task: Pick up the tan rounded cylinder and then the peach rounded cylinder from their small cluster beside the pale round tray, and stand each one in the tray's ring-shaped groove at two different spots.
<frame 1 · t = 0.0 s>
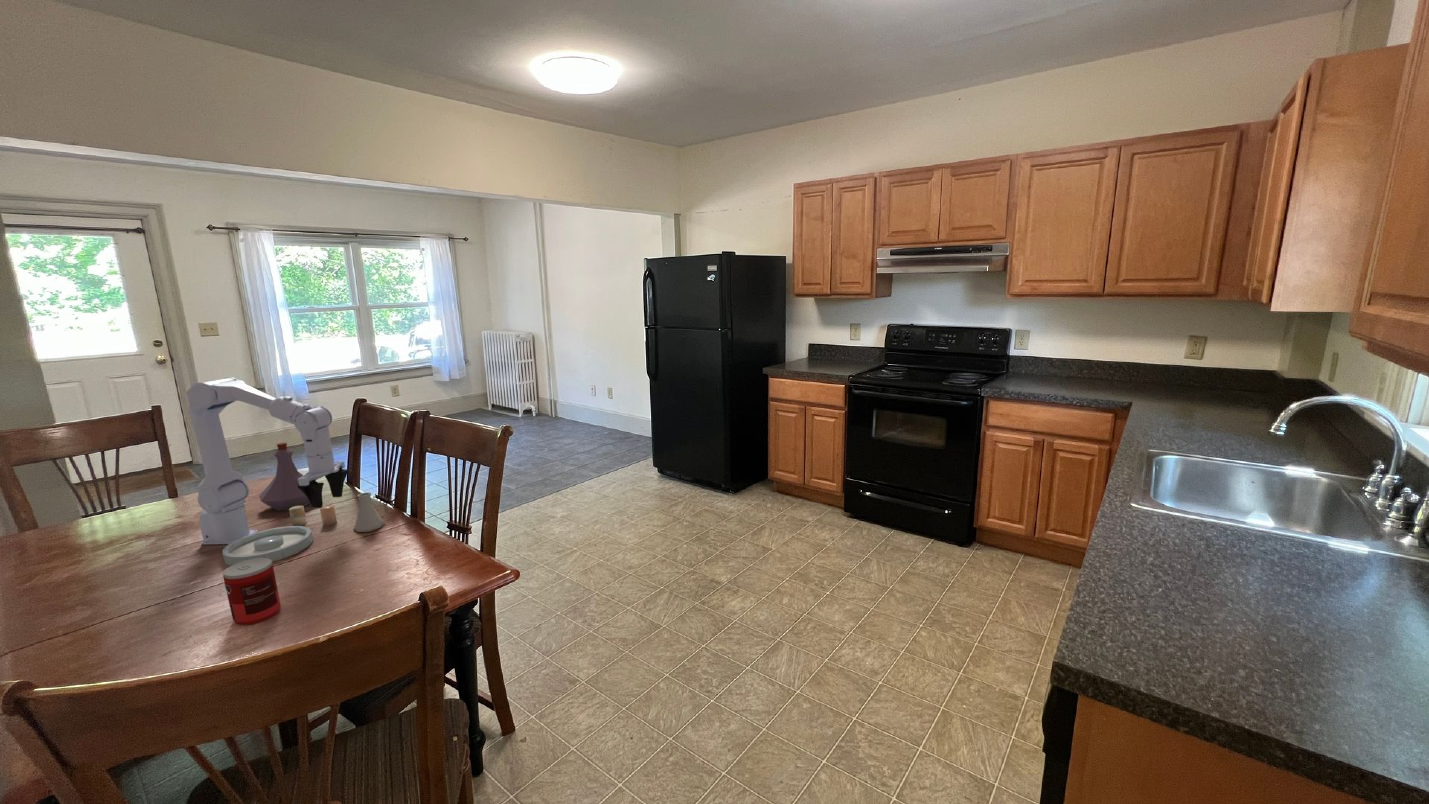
hand: (327, 502, 149), 10 cm above the table, tool pointing down, fingers open, 7 cm apart
groove tray: (270, 549, 145), on the table
flask: (293, 505, 176), on the table
flask 2: (369, 528, 157), on the table
canned food: (258, 616, 115), on the table
tan rounded cylinder: (299, 524, 161), on the table
peach rounded cylinder: (330, 523, 161), on the table
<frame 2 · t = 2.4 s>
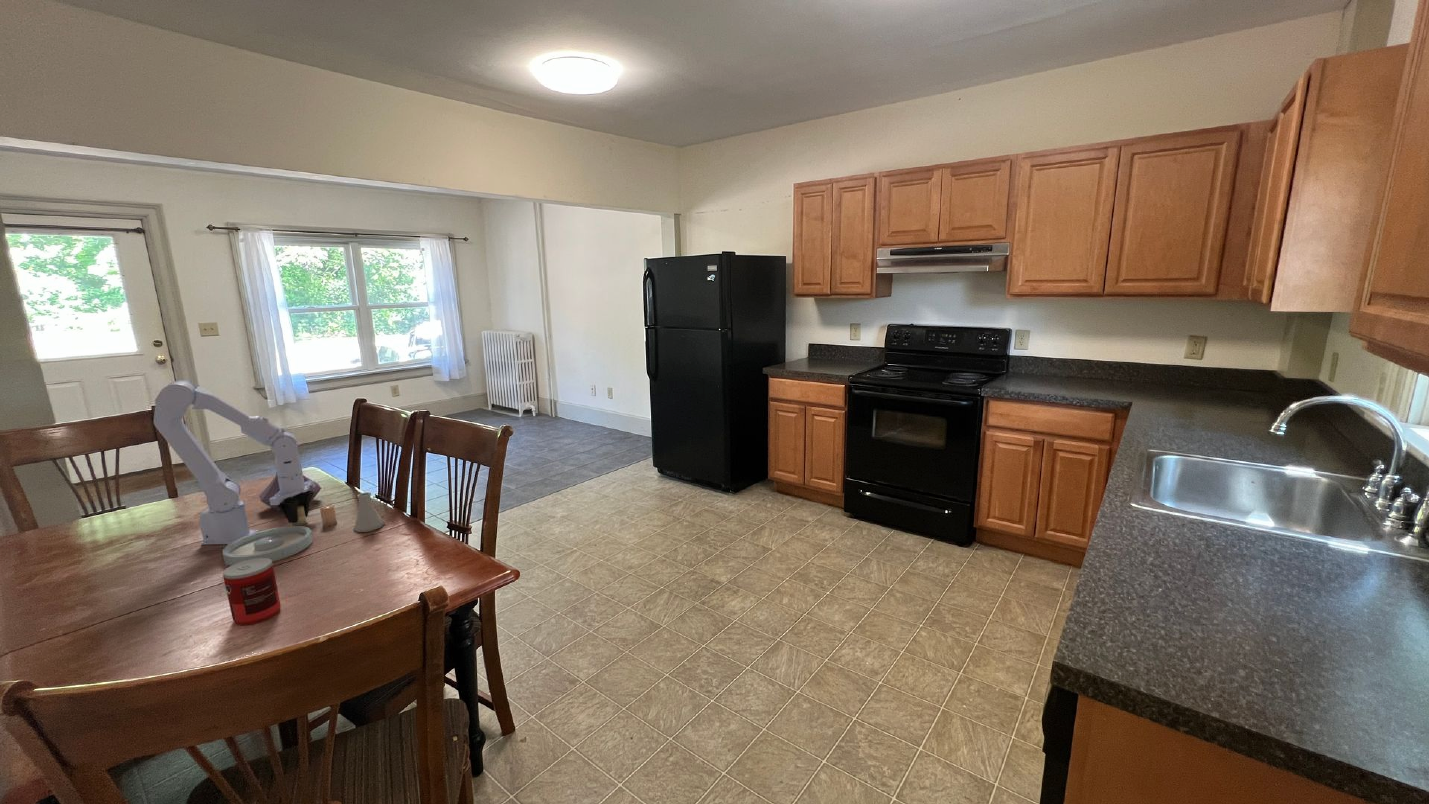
hand: (298, 519, 160), 1 cm above the table, tool pointing down, fingers closed on tan rounded cylinder, 3 cm apart
tan rounded cylinder: (299, 524, 161), on the table, touching gripper
everything else where it was.
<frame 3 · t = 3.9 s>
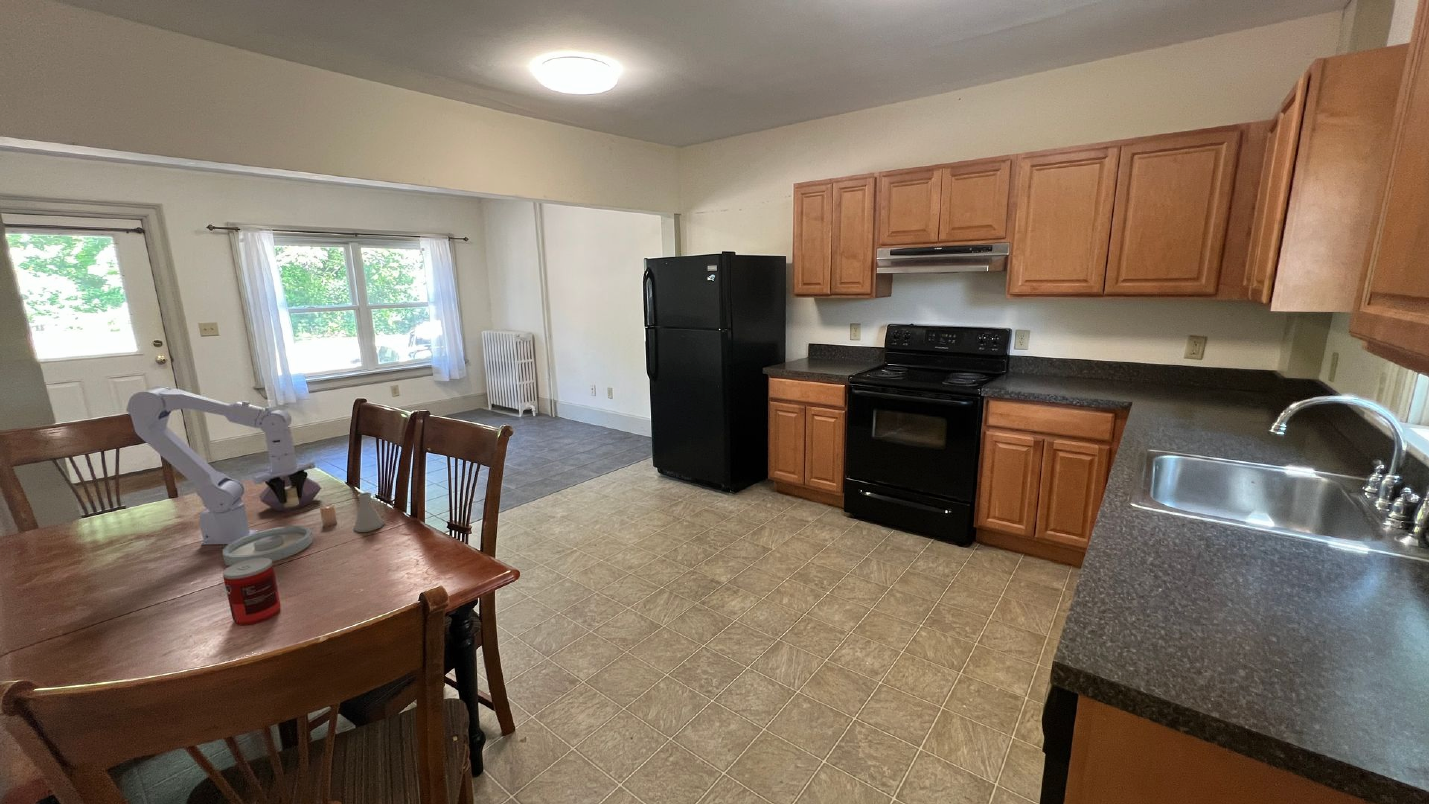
hand: (290, 500, 156), 8 cm above the table, tool pointing down, fingers closed on tan rounded cylinder, 3 cm apart
tan rounded cylinder: (291, 505, 157), point 7 cm above the table, touching gripper
everything else where it was.
when the fingers open (3 cm above the table, at t = 5.7 s): tan rounded cylinder stays where it is, resting on groove tray.
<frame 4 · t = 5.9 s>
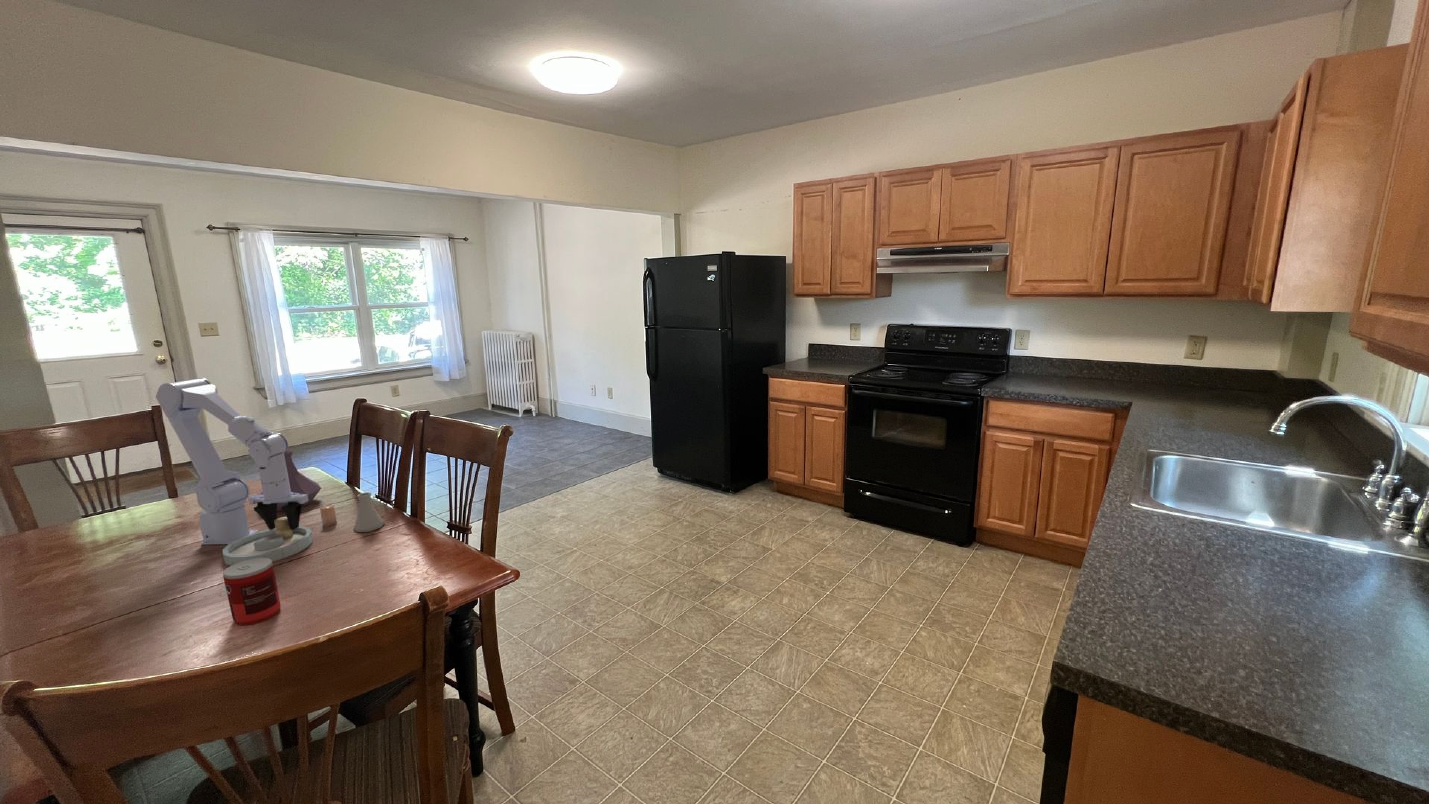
hand: (284, 528, 150), 3 cm above the table, tool pointing down, fingers open, 5 cm apart
tan rounded cylinder: (285, 536, 150), point 1 cm above the table, touching groove tray
everything else where it was.
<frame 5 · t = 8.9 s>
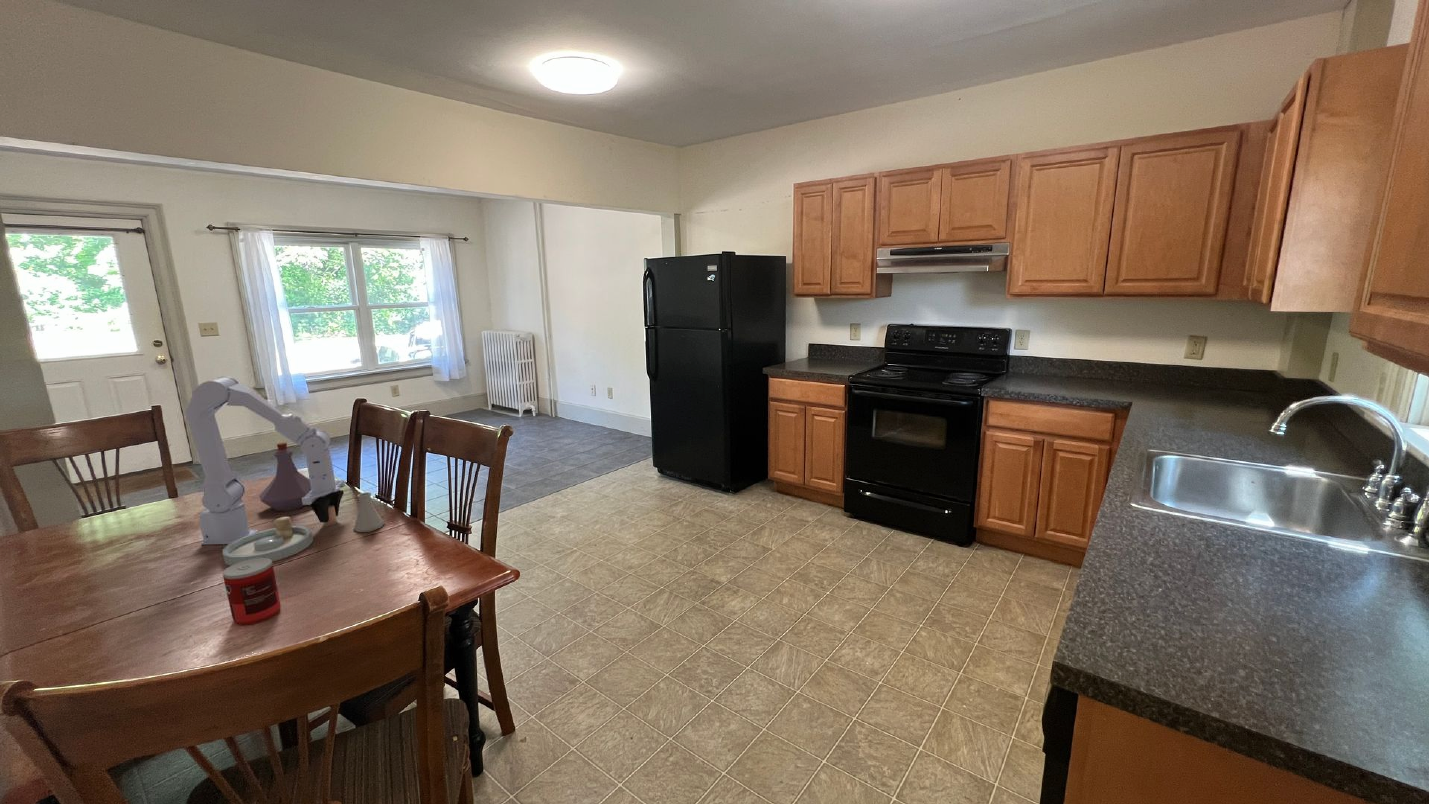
hand: (329, 519, 160), 1 cm above the table, tool pointing down, fingers closed on peach rounded cylinder, 3 cm apart
peach rounded cylinder: (330, 523, 161), on the table, touching gripper
everything else where it was.
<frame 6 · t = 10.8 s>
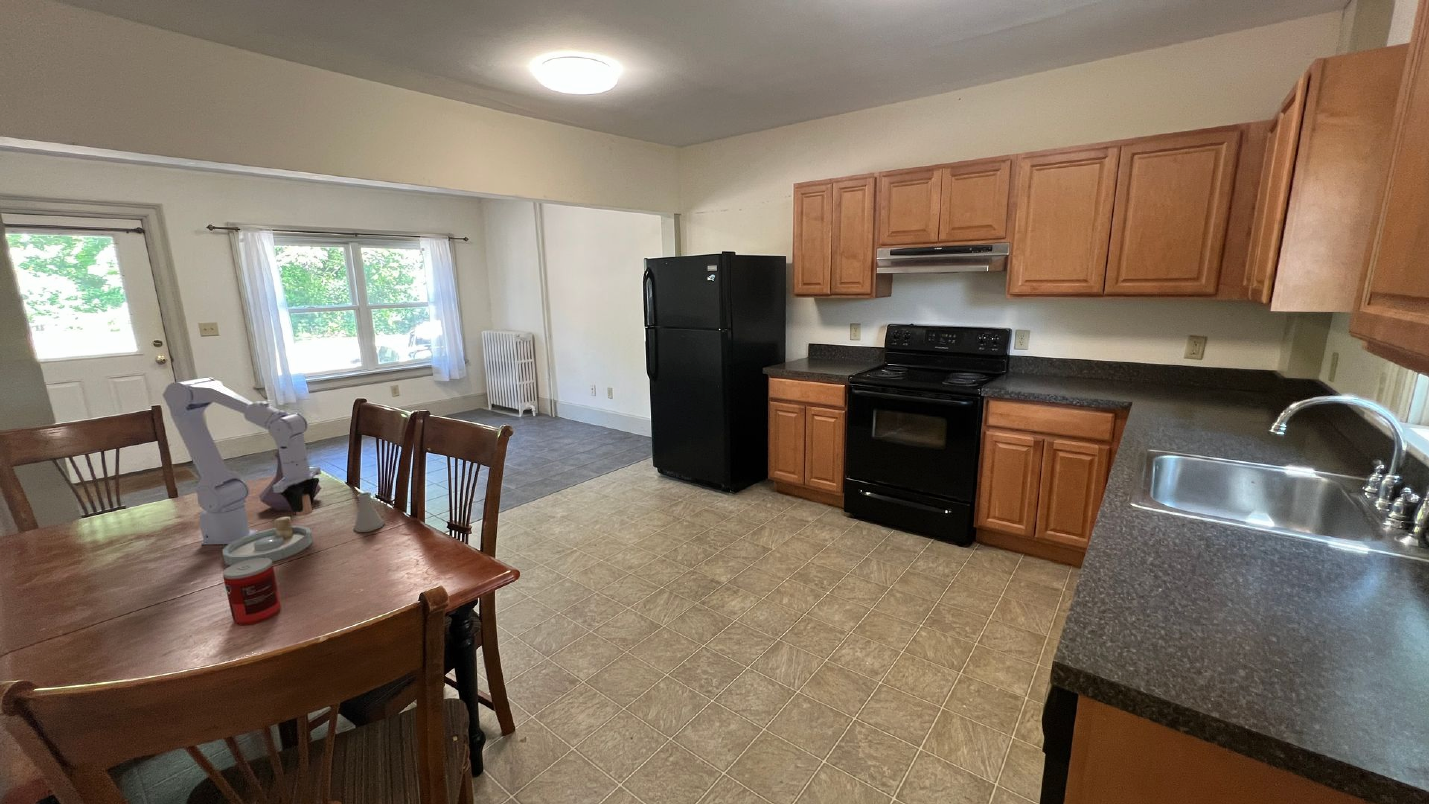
hand: (303, 508, 150), 8 cm above the table, tool pointing down, fingers closed on peach rounded cylinder, 3 cm apart
peach rounded cylinder: (304, 513, 150), point 7 cm above the table, touching gripper
everything else where it was.
when the fingers open (3 cm above the table, at t = 12.5 s): peach rounded cylinder stays where it is, resting on groove tray.
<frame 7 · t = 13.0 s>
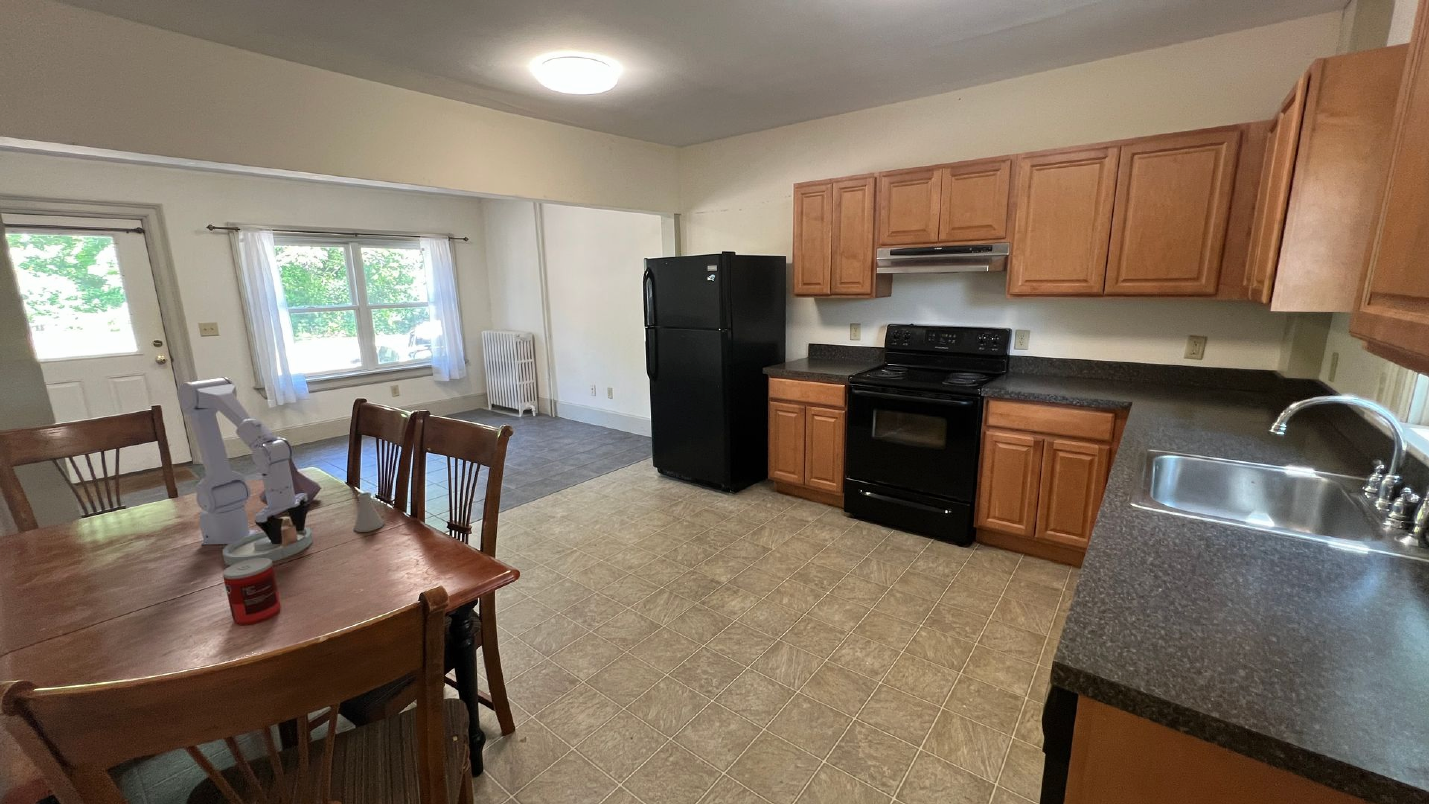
hand: (288, 537, 144), 3 cm above the table, tool pointing down, fingers open, 7 cm apart
peach rounded cylinder: (290, 545, 145), point 1 cm above the table, touching groove tray
everything else where it was.
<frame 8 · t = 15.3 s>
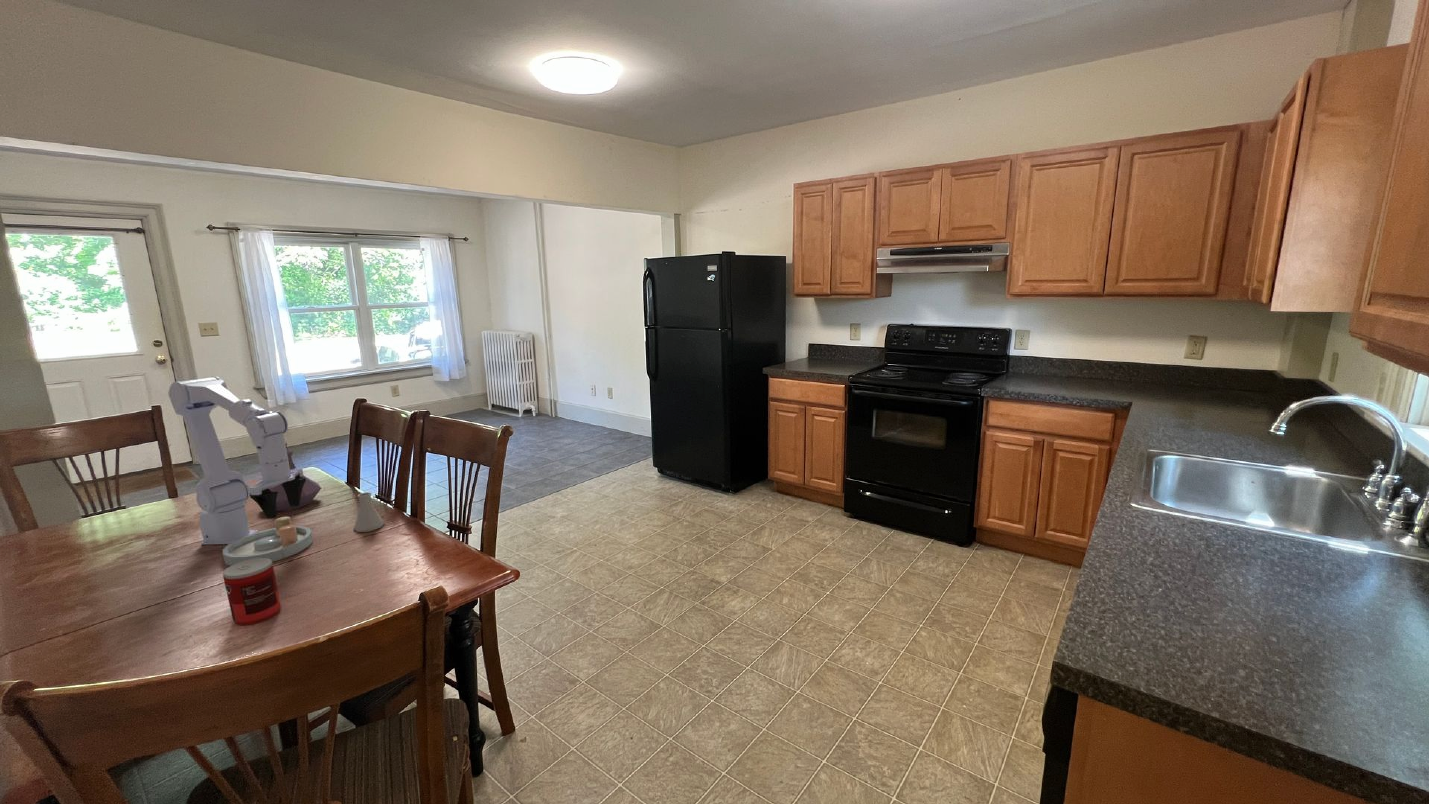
hand: (283, 511, 143), 10 cm above the table, tool pointing down, fingers open, 7 cm apart
nothing on the table moved.
at the end: tan rounded cylinder 0.1 cm from the target spot on the groove tray, point 1.0 cm above the groove tray's base; peach rounded cylinder 0.1 cm from the target spot on the groove tray, point 1.0 cm above the groove tray's base; the gripper is holding nothing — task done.
